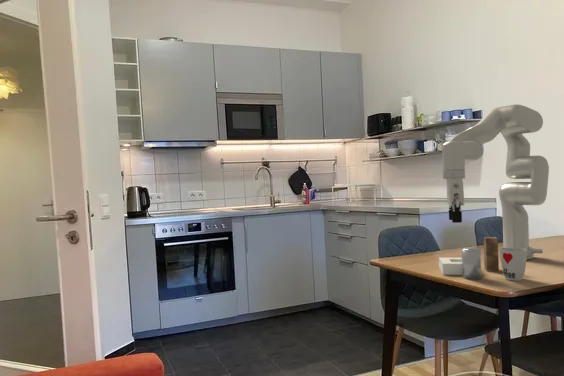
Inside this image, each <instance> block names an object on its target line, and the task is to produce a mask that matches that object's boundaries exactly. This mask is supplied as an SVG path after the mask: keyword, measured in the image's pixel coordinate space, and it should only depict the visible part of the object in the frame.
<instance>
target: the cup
mask: <svg viewBox="0 0 564 376" xmlns="http://www.w3.org/2000/svg"><path fill="white" fill-rule="evenodd" d="M499 258H500V264H501V269H502V273H503V275H504V279H506V280H508V281H514V282H516V281H517V282H518V281H519V282H520V281H523V278H524V275H525V272H526V267H527V260H528V259H527V250H526V249H523V248H511V247H508V248H503V247H500V248H499ZM526 259H527V260H526Z"/></svg>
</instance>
